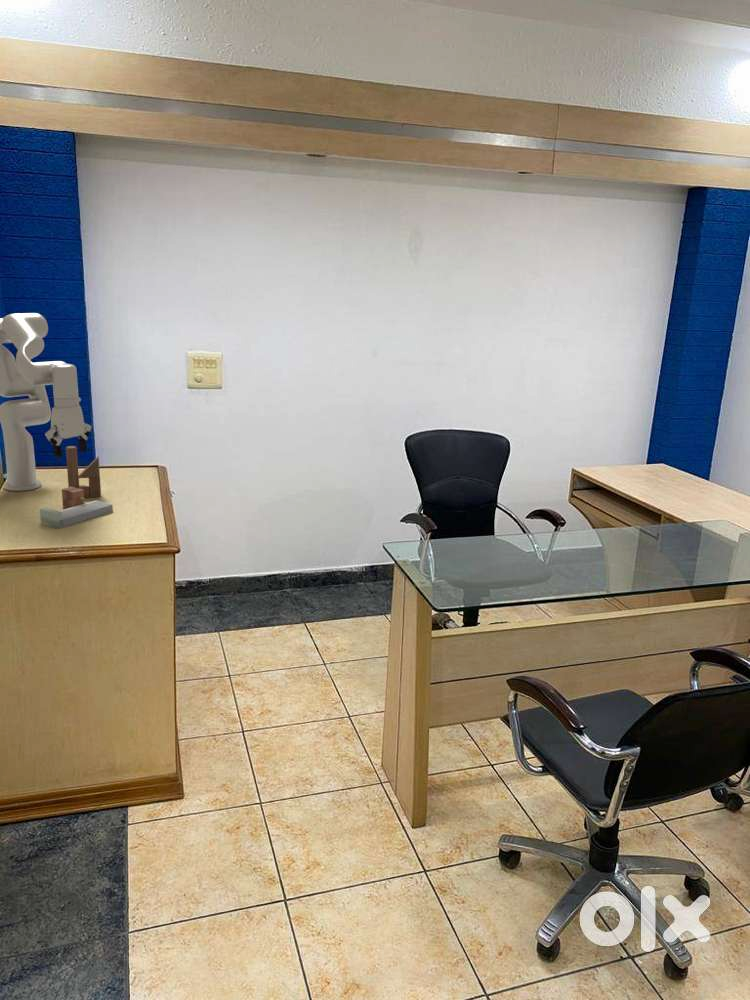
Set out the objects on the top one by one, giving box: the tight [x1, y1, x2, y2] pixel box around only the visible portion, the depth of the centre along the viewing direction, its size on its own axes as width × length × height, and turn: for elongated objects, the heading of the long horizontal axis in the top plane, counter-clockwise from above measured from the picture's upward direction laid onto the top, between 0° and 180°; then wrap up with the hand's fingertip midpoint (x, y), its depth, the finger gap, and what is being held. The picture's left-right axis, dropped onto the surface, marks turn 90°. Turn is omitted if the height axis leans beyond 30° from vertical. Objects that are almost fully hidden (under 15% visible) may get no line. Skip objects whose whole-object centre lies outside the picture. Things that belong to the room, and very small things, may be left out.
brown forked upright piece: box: [65, 445, 102, 498], centre depth 278 cm, size 4×11×18 cm, turn 105°
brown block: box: [61, 487, 86, 510], centre depth 265 cm, size 8×4×7 cm, turn 59°
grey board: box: [39, 499, 114, 529], centre depth 258 cm, size 8×22×5 cm, turn 149°
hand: (70, 454), depth 261 cm, fingers open, 9 cm apart
